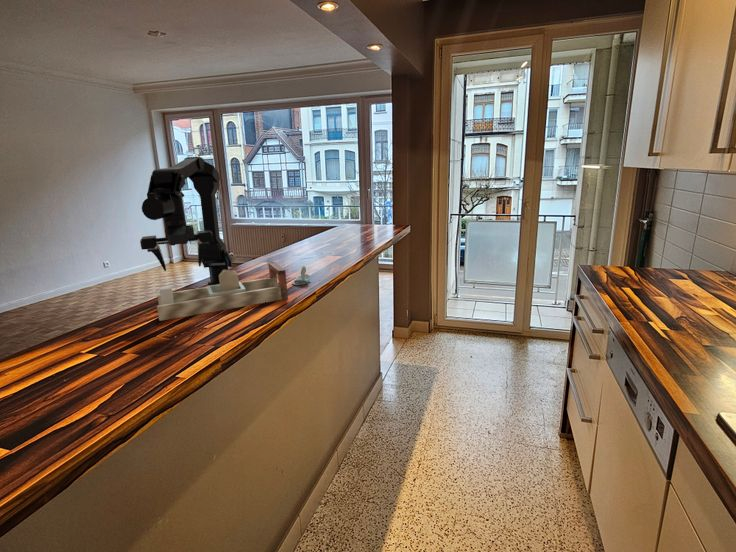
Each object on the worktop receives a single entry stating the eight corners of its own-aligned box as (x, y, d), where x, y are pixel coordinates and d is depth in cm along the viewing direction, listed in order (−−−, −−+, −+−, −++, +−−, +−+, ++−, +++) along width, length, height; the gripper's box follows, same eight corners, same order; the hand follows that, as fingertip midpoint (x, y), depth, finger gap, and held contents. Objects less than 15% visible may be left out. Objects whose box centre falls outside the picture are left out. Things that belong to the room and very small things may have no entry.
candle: (244, 298, 126) (240, 267, 124) (236, 304, 121) (232, 272, 119) (227, 298, 127) (223, 267, 125) (219, 304, 122) (214, 272, 119)
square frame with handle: (163, 317, 112) (159, 293, 110) (163, 307, 121) (159, 284, 119) (247, 303, 121) (244, 280, 120) (241, 294, 130) (238, 273, 128)
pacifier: (289, 286, 139) (306, 286, 138) (287, 269, 137) (304, 268, 136) (295, 281, 146) (311, 280, 145) (293, 264, 144) (310, 263, 143)
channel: (159, 321, 110) (153, 289, 108) (159, 307, 122) (154, 278, 119) (287, 298, 125) (285, 270, 123) (277, 288, 137) (274, 262, 134)
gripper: (134, 221, 104) (145, 280, 108) (211, 214, 111) (219, 269, 116) (136, 216, 114) (147, 270, 118) (207, 211, 121) (215, 261, 125)
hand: (182, 268), depth 119 cm, fingers open, 9 cm apart
